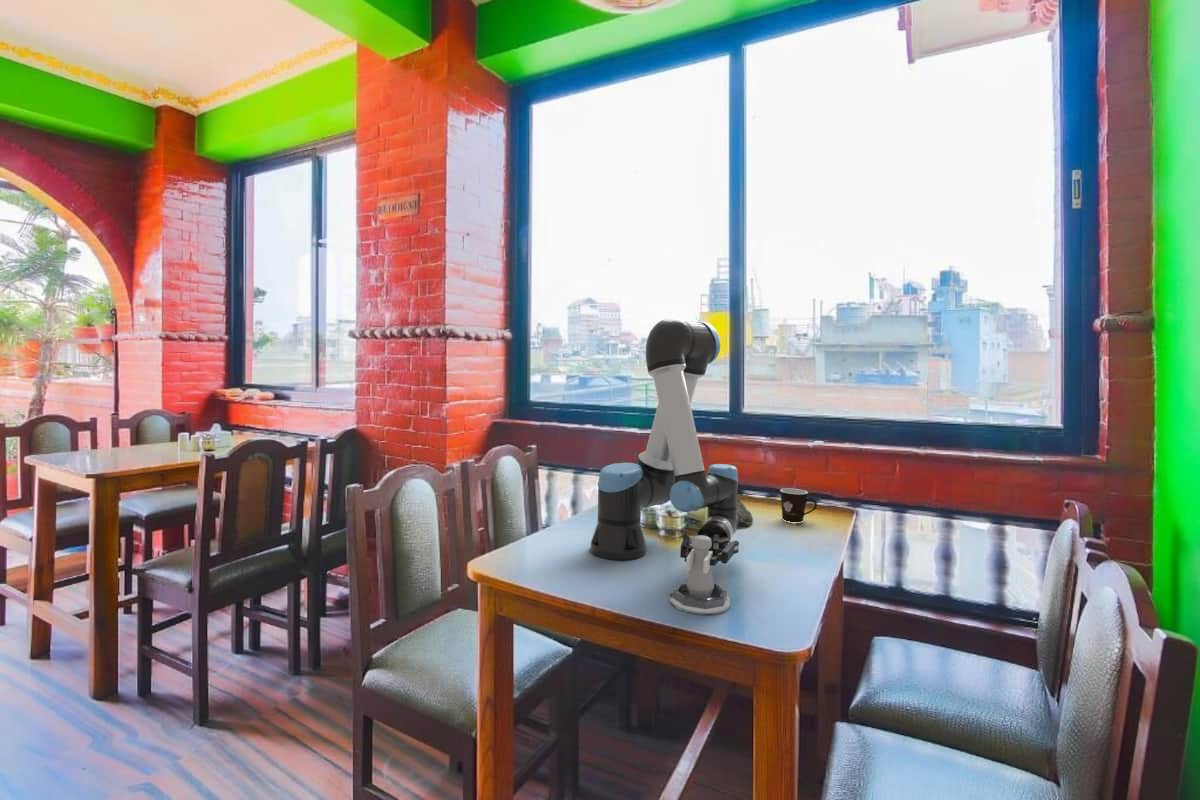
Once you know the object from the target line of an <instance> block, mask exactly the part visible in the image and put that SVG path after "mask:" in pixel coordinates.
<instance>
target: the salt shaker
mask: <svg viewBox="0 0 1200 800" xmlns="http://www.w3.org/2000/svg"><path fill="white" fill-rule="evenodd" d="M691 538H692V544H691V545H692V547H693V548H694V562H693V566H692V568H691V570H690V571H688V577H687V581H686V582H687V588H688V590H689V593H690V596H692V597H694V598H695V599H706V598H709V597H710V595H711V593H712V591H713V589H714V584H715V583H714V578H713V570H712V566H711V567H710V569H709V571H708V572H707V573H703V565H704V559H705V557H706V555H707V554H708V553H709V549H710V548H711V546H712V542H711V539H710V538H709V537H707V536H703V535H698V536H695V535H694V536H692V537H691Z"/></svg>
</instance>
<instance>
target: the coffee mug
mask: <svg viewBox="0 0 1200 800" xmlns="http://www.w3.org/2000/svg"><path fill="white" fill-rule="evenodd" d="M779 491H780V502H781V517H782V518H783V519H784V520H786V521H790V522H801V521H803V522H804V517H805V515H808V514H810V513H812V512H813V511H815V510H816V509H817V506H818V505H817V504H818V503H817V501H816V500H815V499H814V498H811V497H809V498H808V494H809V492H808V491H807V490H804V489H799V488H792V487H791V488H781V489H780V490H779ZM808 501H812V502H813V503H814V507H813V508H812V509H810V510H809V511H805V510H806V505H807V502H808ZM783 519H782V520H783Z"/></svg>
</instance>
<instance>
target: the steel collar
mask: <svg viewBox="0 0 1200 800" xmlns="http://www.w3.org/2000/svg"><path fill="white" fill-rule="evenodd" d="M670 602H671V603H672V604H673V605H674V606H675V607H677V608H679V609H681V610H683V611H682V612H684V611H687V612H691V613H696V614H695V615H697V614H715V615H718V614H717V613H720V614H723V613H725V612H727V611H728V610H730V608H729V607H731V599H730V597H729V595H728V591H727V590H726V589H724V588H723V587H721V586H719V585H717V584H716V583H714V589H713V591H712V593H711V595H710V597H709V598H706V599H695V598H694V597H692V596H690V593H689V590H688V588H687V581H685V582H684V581H683V582H678V583H676V585H675V586H674V588H673V590H672V591H670V593H669V603H670ZM671 603H670V604H671ZM672 604H671V605H672ZM674 606H673V607H674ZM675 607H674V608H675ZM677 608H676V609H677ZM679 609H678V610H679ZM681 610H680V611H681ZM726 610H727V611H726ZM724 611H725V612H724ZM687 612H686V613H687ZM722 612H723V613H722ZM691 613H690V614H691Z"/></svg>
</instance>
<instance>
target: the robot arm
mask: <svg viewBox="0 0 1200 800" xmlns="http://www.w3.org/2000/svg"><path fill="white" fill-rule="evenodd" d="M648 333H649V334H648V336H647V338H646V344H645V363H646V368H647V373H648V375H649V376H650V377H652V378H653V381H654V385H655V390H656V395H657V401H658V404H657V406H656V407H657V408H656V411H655V413H654V418H653V422H652V426H651V429H650V434H649V437H648V441H647V445H646V449H645V450H644V451H642V452H641V453H639V454H638V458H637V462H636V463H634V462H620V463H618V462H617V463H612V464H611V463H610V464H608V465H605V466H603V467H602V468H601V469H600V471H599V475H598V481H597V493H598V494H597V523H596V527H595V529H594V532H593V536H592V538H591V541H590V552H591V554H593V555H595V556H597V557H599V558H602V559H607V560H612V561H613V560H614V561H615V560H616V561H627V560H629V561H630V560H636V559H639V558H641V557H643V556H645V555H646V553H647V542H646V539H645V535H644V532H643V529H642V524H641V521H642V520H641V519H642V518H641V516H642V513H641V512H642V509H643V510H644V509H645V508H646V509H647V508H650V507H654V506H660V505H664V504H666V503H667V502H670V503H671V505H672V506H673V508H675V510H676V511H677V510H678V511H679V512H681V513H691V512H697V511H699V510H702V509H705V508H706V520H705V522H704V523H703V524H702V526H701V527H700V529H699V530H698V531H697V534H695V535H694V536H698V535H703V536H707V537H709V538H710V539H711V542H712V546H711V548H710V549H709V553H708V554H707V555H706V557H705V559H704V565H703V573H707V572H708V571H709V569H710V567H711V568H712V567H716V565H717V564H718V563H719V562H720V563H721V564H724V565H727V564H728V562H729V561H730V560H731V559H732V557H733V556H734V555H735V554H737V553H739V547H740V545H739V544H740V541H738V540H733V541H731V540H732V538H733V536H734V534H735V533H736V532H737V530H738V525H739V523H738V518H737V498H738V488H739V487H738V485H739V480H738V479H739V476H738V475H739V474H738V471H739V470H738V469H737V467H736V466H735V465H732V464H725V463H715V464H710V465H709V467H708V470H707V473H706V470H705V465H704V462H703V461H704V460H703V456H702V451H701V447H700V443H699V442H700V441H699V438H698V433H697V430H696V424H695V419H694V414H693V410H692V407H691V406H692V405H691V403H692V400H693V396H694V394H695V390H696V386H697V382H698V380H699V379H700V378H702V377H704V376H705V375H706V371H707V367H708V365H709V364H711V363H712V362H714V361H716V359H717V358H718V356H719V354H720V351H721V339H720V338H721V337H720V335H719V333H718V331H717V330H716V328H715V327H714V326H713V325H712V324H710V323H708V322H706V321H701V320H698V319H686V318H677V317H669V318H668V317H667V318H664V319H662V320H661V321H658V322H657V323H656V324H654V326H653V327H652V329H651V330H650V332H648ZM692 538H693V537H692V536H690V535H688V534H687V533H685V534H682V541H681V544H680V556H679V557H680V558H682V559H684V563H685V571H686V572H689V571H690V570H691V568H692V566H693V562H694V548H693V547H692Z"/></svg>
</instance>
